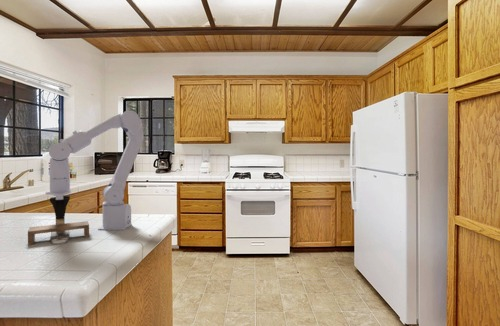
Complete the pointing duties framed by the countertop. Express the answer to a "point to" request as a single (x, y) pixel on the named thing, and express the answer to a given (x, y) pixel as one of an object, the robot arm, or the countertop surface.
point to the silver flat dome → (59, 241)
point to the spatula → (60, 233)
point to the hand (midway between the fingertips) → (60, 218)
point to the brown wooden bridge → (57, 229)
